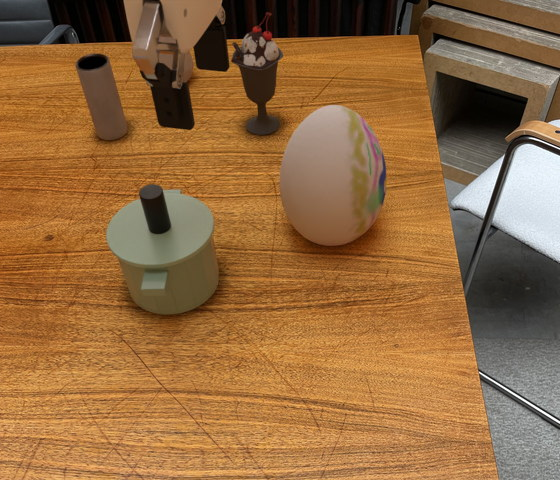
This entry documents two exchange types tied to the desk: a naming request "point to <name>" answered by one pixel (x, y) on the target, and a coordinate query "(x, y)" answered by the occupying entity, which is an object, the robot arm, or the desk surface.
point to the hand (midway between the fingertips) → (196, 96)
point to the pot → (174, 282)
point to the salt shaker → (168, 59)
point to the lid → (159, 229)
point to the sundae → (259, 75)
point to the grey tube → (102, 96)
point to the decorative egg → (333, 176)
